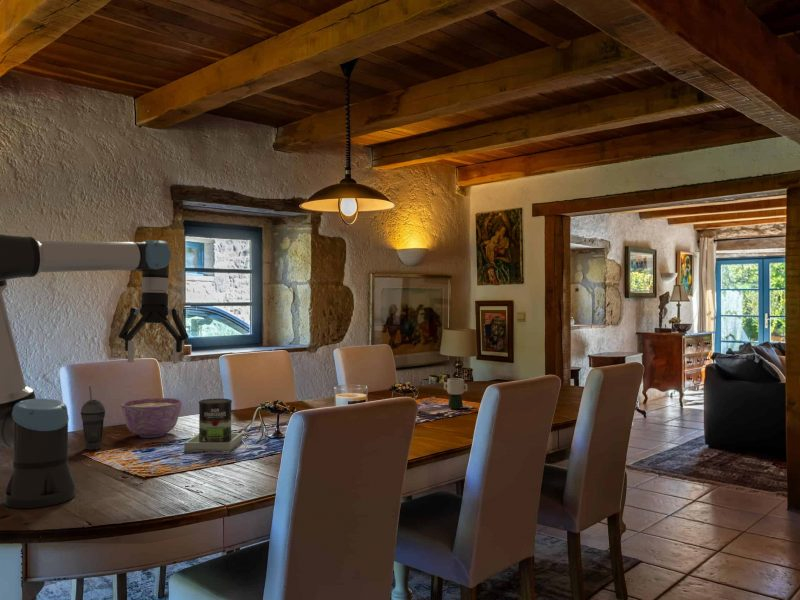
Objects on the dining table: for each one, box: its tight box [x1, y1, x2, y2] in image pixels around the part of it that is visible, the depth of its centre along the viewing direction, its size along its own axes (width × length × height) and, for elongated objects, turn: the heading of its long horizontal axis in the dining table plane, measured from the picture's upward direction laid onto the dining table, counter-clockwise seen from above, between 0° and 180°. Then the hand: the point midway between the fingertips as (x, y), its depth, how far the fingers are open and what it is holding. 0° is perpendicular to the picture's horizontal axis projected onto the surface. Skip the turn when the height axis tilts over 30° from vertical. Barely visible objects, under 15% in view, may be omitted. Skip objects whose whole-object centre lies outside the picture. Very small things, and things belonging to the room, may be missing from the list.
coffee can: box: [198, 398, 233, 442], centre depth 213 cm, size 10×10×14 cm
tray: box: [183, 432, 243, 453], centre depth 213 cm, size 14×14×3 cm
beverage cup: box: [80, 385, 106, 451], centre depth 210 cm, size 7×7×20 cm
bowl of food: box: [120, 397, 183, 439], centre depth 230 cm, size 20×20×12 cm
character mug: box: [443, 377, 468, 410], centre depth 283 cm, size 11×7×13 cm, turn 65°
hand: (153, 362), depth 196 cm, fingers open, 13 cm apart
